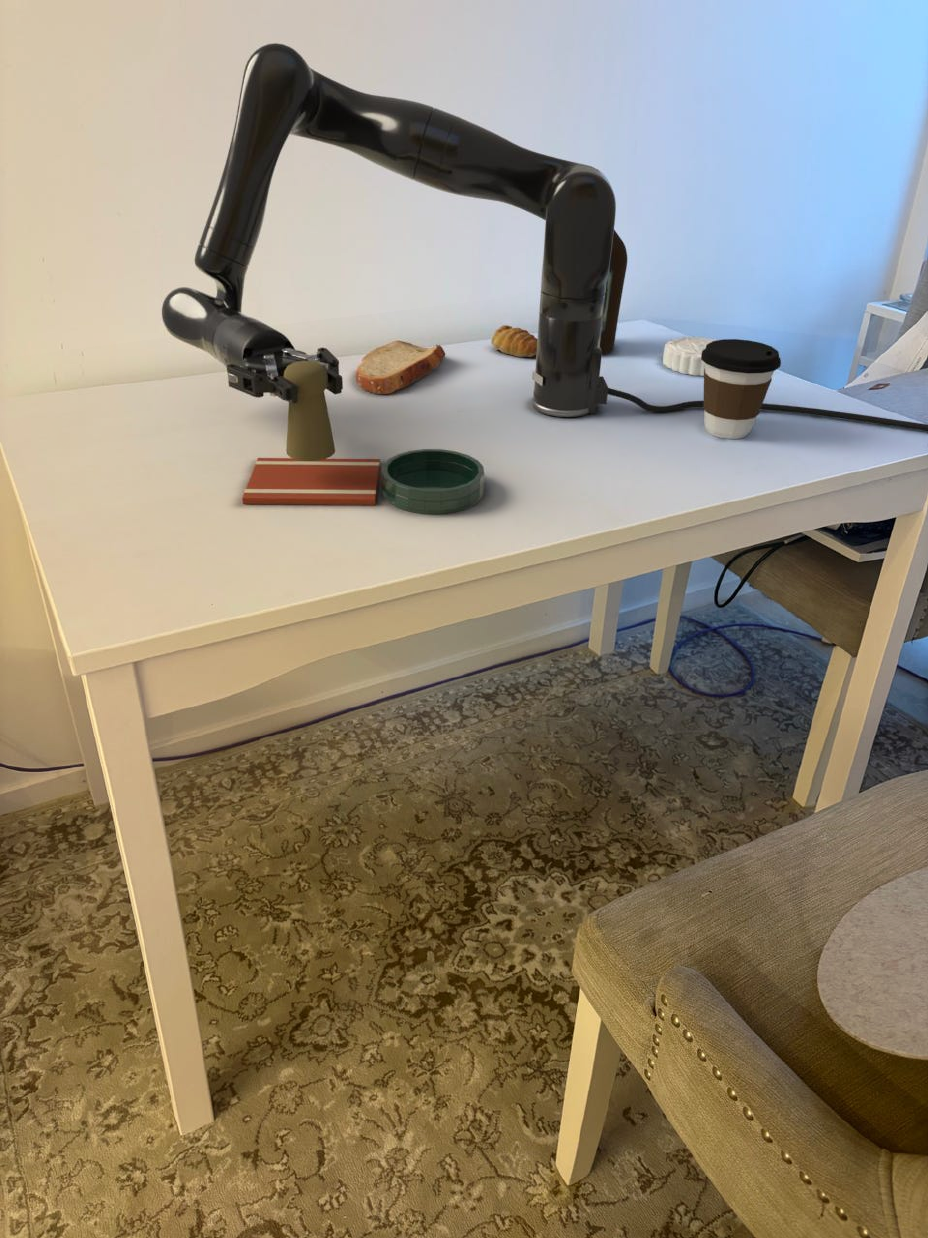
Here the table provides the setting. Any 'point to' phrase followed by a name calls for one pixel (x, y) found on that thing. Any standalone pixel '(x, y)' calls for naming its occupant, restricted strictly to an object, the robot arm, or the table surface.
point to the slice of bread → (396, 366)
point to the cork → (309, 413)
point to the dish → (432, 481)
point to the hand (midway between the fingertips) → (317, 390)
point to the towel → (313, 482)
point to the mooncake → (686, 355)
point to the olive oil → (613, 294)
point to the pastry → (514, 341)
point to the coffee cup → (735, 384)
